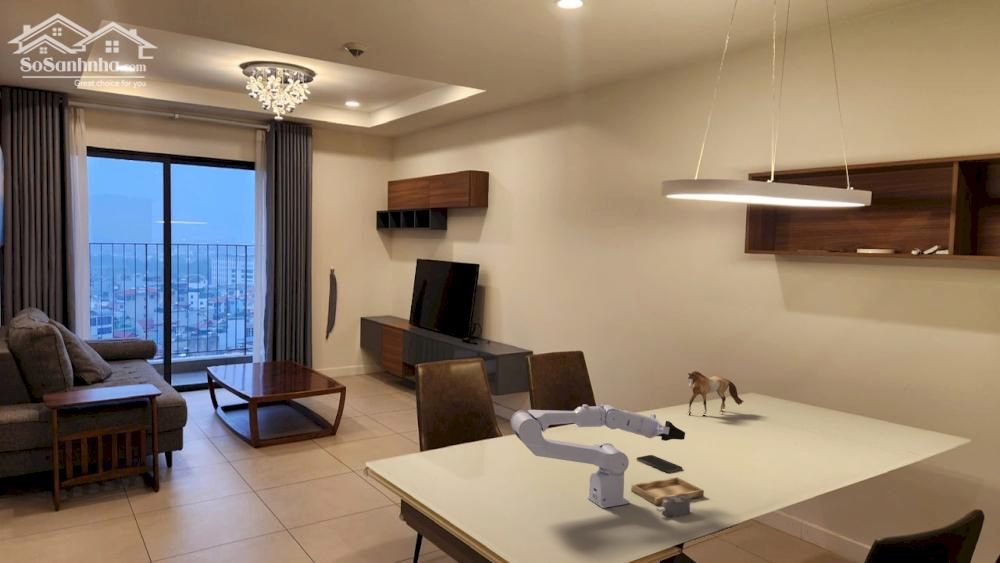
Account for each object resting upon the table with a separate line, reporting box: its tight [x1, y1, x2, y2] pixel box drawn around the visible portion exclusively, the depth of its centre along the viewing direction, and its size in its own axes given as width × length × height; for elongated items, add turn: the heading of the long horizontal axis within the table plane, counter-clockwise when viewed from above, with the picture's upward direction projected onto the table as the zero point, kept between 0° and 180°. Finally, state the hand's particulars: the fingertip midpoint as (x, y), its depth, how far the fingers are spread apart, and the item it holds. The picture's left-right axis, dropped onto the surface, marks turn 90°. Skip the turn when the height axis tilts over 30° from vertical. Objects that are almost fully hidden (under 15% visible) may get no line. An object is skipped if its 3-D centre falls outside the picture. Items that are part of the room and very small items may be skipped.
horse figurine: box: [687, 370, 745, 415], centre depth 284 cm, size 31×8×21 cm, turn 112°
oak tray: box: [631, 477, 705, 507], centre depth 187 cm, size 18×12×2 cm, turn 115°
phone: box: [636, 454, 683, 474], centre depth 213 cm, size 8×1×15 cm
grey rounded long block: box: [655, 496, 691, 519], centre depth 173 cm, size 11×4×4 cm, turn 115°
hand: (676, 434), depth 185 cm, fingers open, 7 cm apart
